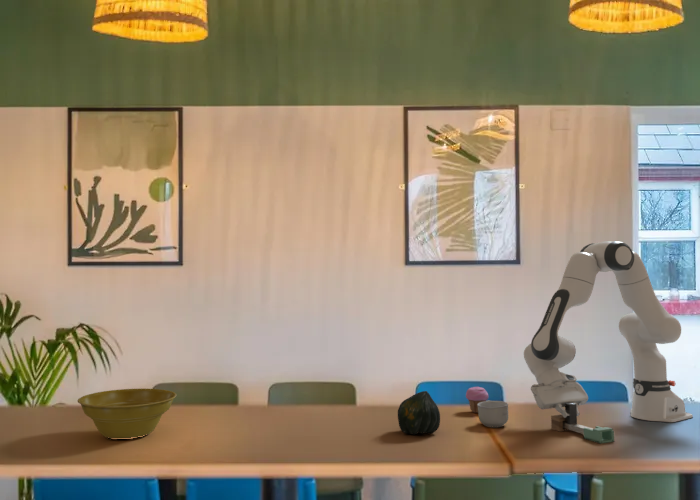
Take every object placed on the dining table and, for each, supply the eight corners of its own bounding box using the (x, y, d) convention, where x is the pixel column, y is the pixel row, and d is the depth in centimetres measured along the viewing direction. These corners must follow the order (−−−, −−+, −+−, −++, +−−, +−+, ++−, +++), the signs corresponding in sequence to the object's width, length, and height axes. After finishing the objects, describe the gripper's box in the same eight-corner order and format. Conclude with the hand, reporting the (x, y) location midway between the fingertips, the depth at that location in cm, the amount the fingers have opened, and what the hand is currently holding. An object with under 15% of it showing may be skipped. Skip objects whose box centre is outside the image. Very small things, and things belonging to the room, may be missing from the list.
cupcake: (490, 414, 246) (490, 388, 247) (468, 414, 246) (467, 388, 247) (486, 409, 255) (485, 384, 255) (464, 409, 255) (464, 384, 256)
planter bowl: (194, 434, 219) (194, 395, 220) (104, 454, 196) (105, 410, 196) (146, 420, 241) (147, 384, 242) (60, 436, 218) (61, 397, 218)
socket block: (567, 426, 225) (566, 413, 225) (575, 429, 221) (574, 416, 222) (551, 428, 222) (551, 415, 223) (559, 431, 219) (559, 418, 219)
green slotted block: (597, 436, 211) (597, 424, 211) (614, 441, 205) (613, 428, 205) (583, 438, 209) (583, 426, 209) (599, 443, 202) (599, 430, 203)
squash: (382, 416, 220) (405, 386, 214) (409, 411, 231) (431, 382, 225) (406, 449, 212) (431, 419, 206) (432, 442, 223) (457, 414, 217)
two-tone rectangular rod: (565, 425, 223) (564, 400, 224) (597, 435, 209) (596, 408, 210) (558, 426, 222) (557, 401, 222) (590, 436, 208) (589, 409, 209)
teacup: (509, 429, 222) (508, 406, 222) (477, 428, 224) (477, 405, 224) (507, 420, 235) (507, 399, 236) (477, 419, 237) (477, 398, 238)
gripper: (532, 379, 221) (552, 413, 212) (578, 375, 229) (599, 407, 220) (524, 390, 225) (543, 424, 216) (569, 386, 233) (590, 418, 224)
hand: (572, 416), depth 218 cm, fingers closed on two-tone rectangular rod, 3 cm apart
